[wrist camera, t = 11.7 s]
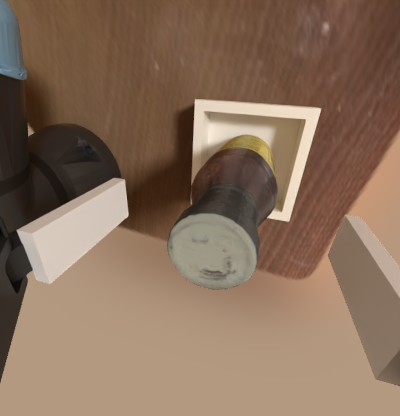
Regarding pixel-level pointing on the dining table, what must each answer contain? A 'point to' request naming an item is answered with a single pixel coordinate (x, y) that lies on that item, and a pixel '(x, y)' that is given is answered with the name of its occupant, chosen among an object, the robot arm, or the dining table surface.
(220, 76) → the dining table surface
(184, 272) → the sauce bottle
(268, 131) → the square white tray
